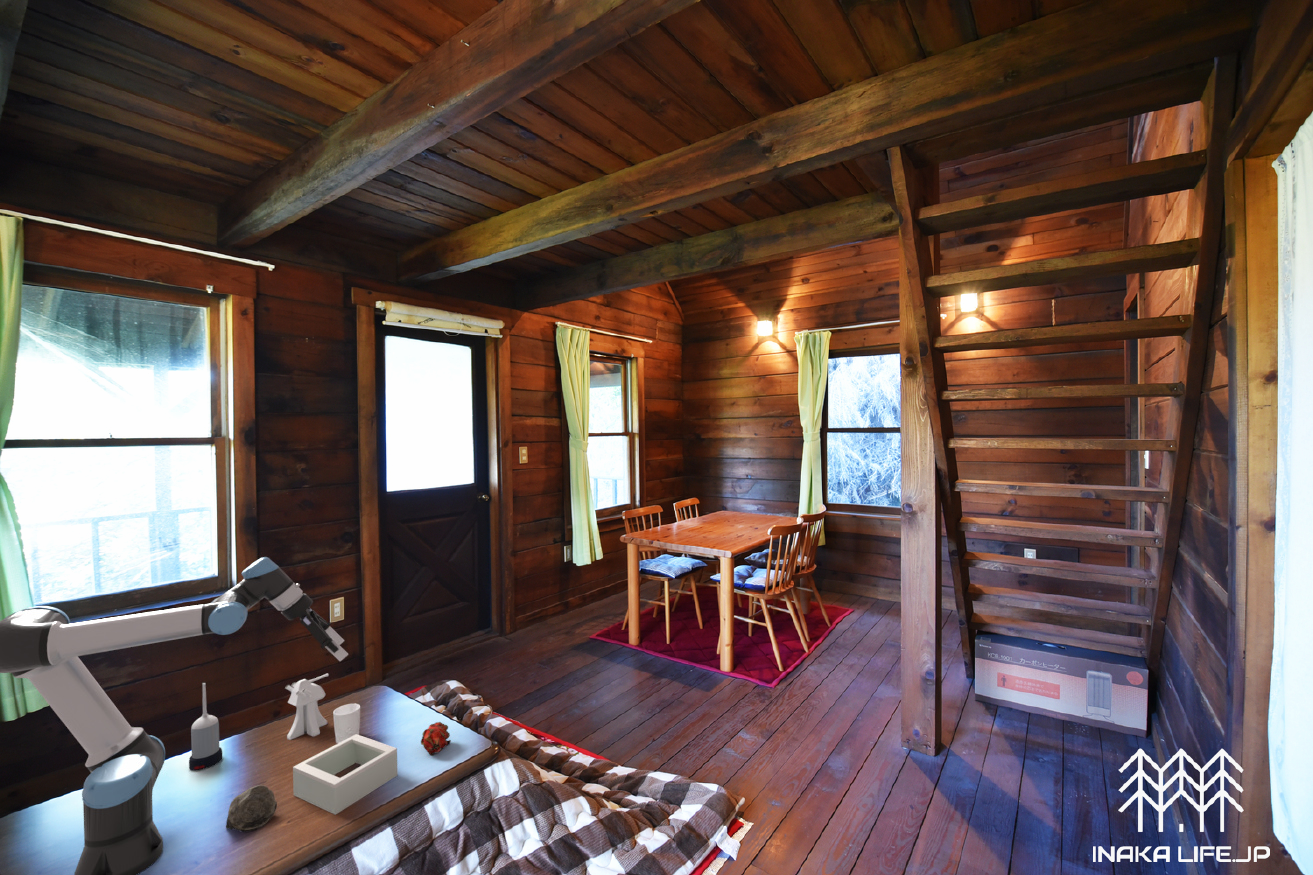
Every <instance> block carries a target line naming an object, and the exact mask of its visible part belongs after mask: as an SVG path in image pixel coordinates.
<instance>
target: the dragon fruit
mask: <svg viewBox="0 0 1313 875" xmlns="http://www.w3.org/2000/svg"><path fill="white" fill-rule="evenodd" d="M448 729H449V726H448V725H447V724H445V723H443V722H441V721H437V722H435V723H432V724H430V725H429V726H428V727H427V728H426V729H425V730H424V731H423V732H422V736H421V740H420V745H422V746H423V748H424V749H425V750H426V752H428V754H429V755H430V756H434V754H438V753H440V752H441V751H442V750H443V749H444V748H445V747H447V746H450V744H451V742H452V740H451V739H449V738H450V736H451V734H450V732H449V731H448ZM448 739H449V740H448Z"/></svg>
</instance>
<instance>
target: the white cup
mask: <svg viewBox="0 0 1313 875" xmlns="http://www.w3.org/2000/svg"><path fill="white" fill-rule="evenodd" d="M332 714H333V715H332V716H333V728H334V735H335V743H336V744H338V743H340V742H342V741H344V740H346V739H348V738H350V737H352V736H354V735H355V734H357V735H360V726H361V724H360V723H361V721H360V720H361V705H360V704H359V703H348V704H344V705H341V706H339V707H337V708H335V709H334V710H333V712H332Z"/></svg>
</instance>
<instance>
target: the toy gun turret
mask: <svg viewBox="0 0 1313 875" xmlns="http://www.w3.org/2000/svg"><path fill="white" fill-rule="evenodd" d="M325 677H329V673H325V674H323V675H321V676H317V677H316V678H315V677H314V678H312V679H306V678H303V679H300V680H298V681H297V682H292V684H291V685H290V684H287V685H286V686H285V688H284V689H286V690H288V691H289V692H290V693H291V694H290V697H289V699H288V701H287V703H288V704H290V705H292V706H295V707H296V713H295V718H294V721H293V723H292V725H291V728H290V730H289V731H288V734H287V735H286V739H287V740H290V741H291V740H293V739H296V738H298V737H301V736H303V735H305V734H307V735H308V736H310V737H316V736H319V735H320V733H321V731H320V728H321V727H324V726H326V725H327V724H328V720H327V719H325V718H324V717H323V715H322V714H321V711H320V710H319V706H318V701H319V700H322V699H324V698H325V696H326V693H325V690H324V688H323V687H322V686H321V685H318V684H316V683H314V682H315V681H318V680H320V679H324V678H325Z"/></svg>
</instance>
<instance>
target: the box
mask: <svg viewBox="0 0 1313 875" xmlns="http://www.w3.org/2000/svg"><path fill="white" fill-rule="evenodd" d="M355 763H356V764H359V765H360V766H359V767H356V768H355V769H353V770H351V771H350V772H348V773H347V774H345V775H343V776H341V777H338V776H336V774H338V773H340V772H341V771H343V770H346V769H347V768H349V767H351V766H352V765H354V764H355ZM398 770H399V769H398V748H397V747H394V746H391V745H388V744H385V743H383V742H380V741H377V740H374V739H371V738H369V737H365V736H362V735H360V734H359V735H357V734H355V735H354V736H352V737H350V738H348V739H346V740H344V741H342V742H340V743H336V744H335V745H333V746H330V747H329V748H327V749H325V750H323V751H321V752H319V753H317V754H315V755H313V756H311V757H309V758H308V759H307V758H306V760H303V761H302V762H300V763H298V764H296V765H294V766H292V784H293V789H292V790H293V796H294V797H297V798H298V799H301V800H303V801H306V802H308V803H309V804H311V805H314V806H315V807H318V808H320V809H322V810H324V811H327V812H329V813H330V814H333V815H337V814H339V813H341V812H342V811H344V810H346V809H347V808H348V807H350V806H352V805H353V804H355V803H356V802H358V801H359V800H361V799H362V798H364V797H366V796H367V795H369V794H370V793H372V792H374V791H375V790H377V789H378V788H380V787H382V786H383V785H385V784H386V783H388V782H389V781H391V780H392V779H394V778H396V777H398V775H399V774H398Z"/></svg>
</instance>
